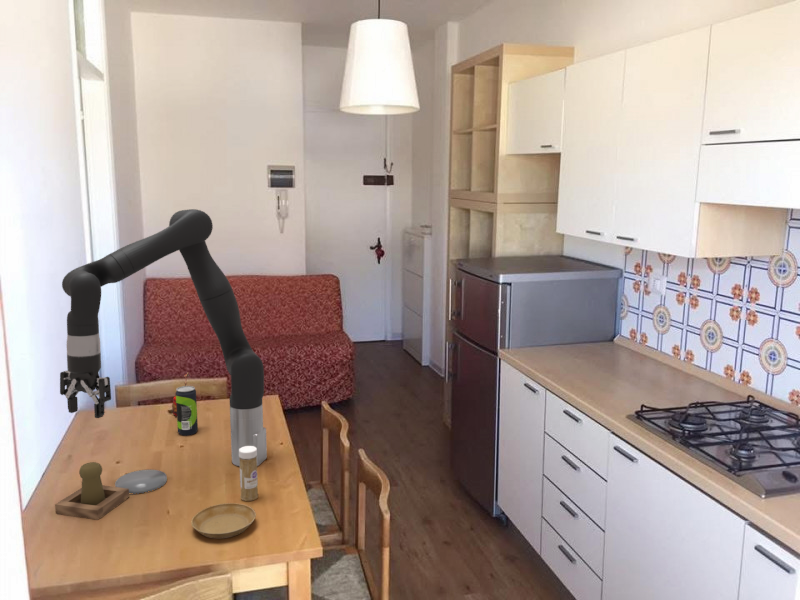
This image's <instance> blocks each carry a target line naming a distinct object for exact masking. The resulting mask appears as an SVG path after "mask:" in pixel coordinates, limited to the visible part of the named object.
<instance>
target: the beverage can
mask: <svg viewBox="0 0 800 600" xmlns="http://www.w3.org/2000/svg"><path fill="white" fill-rule="evenodd" d="M175 390H176V392H175V393H176V408H177V417H176V422H177V423H176V424H177V425H176V426H177V433H178V434H179V435H180V436H182V437H183V436H185V437H187V436H193V435H195V434H196V433H197V432H198V429H199V428H198V426H199V425H198V407H197V405H198V404H197V390H196V387H195V386H193V385H186V386H185V385H183V386H178V387H176V389H175Z"/></svg>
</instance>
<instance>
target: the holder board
mask: <svg viewBox="0 0 800 600" xmlns="http://www.w3.org/2000/svg"><path fill="white" fill-rule="evenodd" d="M102 486H103V490H104V494H105V500H103V501H102V502H100V503H99V504H97V505H96V506H95V505H88V504H81V490H82V487H81V488H79V489H77V490H75V491H74V492H72V493H71V494H69V495H68V496H66V497H65V498H63V499H62V500H59V501H58V502H56V503H55V504H54V507H55V514H57V515H65V516H71V517H76V518H77V517H78V518H85V519H90V520H97V521H99V520H100V519H101V518H102V517H104V516H106V515H107V514H109V512H111V511H112V510H114V509H115V508H117V507H118V506H120V503H121V502H122V503H123V502H125V501H126V500H127V499H126V498H128V497H129V498H130V494H129V489H127V488H120V487H115V486H112V485H111V486H109V485H106V484H105V485H103V484H102ZM129 498H128V499H129ZM125 499H126V500H125ZM124 500H125V501H124ZM122 503H121V504H122ZM117 505H118V506H117ZM114 507H115V508H114ZM113 508H114V509H113Z"/></svg>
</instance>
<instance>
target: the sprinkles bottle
mask: <svg viewBox="0 0 800 600" xmlns="http://www.w3.org/2000/svg"><path fill="white" fill-rule="evenodd" d="M256 457H257V448H256V447H254V446H244V447H242V448H240V449H239V458H240V466H239V483H240V484H239V485H240V486H239V487H240V499H241V500H242V501H244V502H250V501H251V502H252V501H254V500H256V499H258V498H259V493H258V485H259V484H258V466H257V460H256Z"/></svg>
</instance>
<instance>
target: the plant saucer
mask: <svg viewBox="0 0 800 600" xmlns="http://www.w3.org/2000/svg"><path fill="white" fill-rule="evenodd" d="M256 515H257V514H256V511H255V510H254V509H253V507H251V506H249V505H247V504H243V503H236V502H230V503H229V502H228V503H227V502H226V503H219V504H214V505H212V506H211V505H210V506H208V507H206V508H203V509H201V510H200V511H198V512H197V513H196V514H195V515H193V516H192V519H191V527H192V528H193V529H194V530H195V531H196V532H198V533H199V534H200V535H202V536H204V537H206V538H210V539H216V540H217V539H218V540H220V539H228V538H229V539H230V538H232V537H235V536H237V535H240V534H242V533H243V532H244V531H245V530H247V529H248V528H249V527H250V526H251V525H252V523H253V522H254V520H255V518H256Z"/></svg>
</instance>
